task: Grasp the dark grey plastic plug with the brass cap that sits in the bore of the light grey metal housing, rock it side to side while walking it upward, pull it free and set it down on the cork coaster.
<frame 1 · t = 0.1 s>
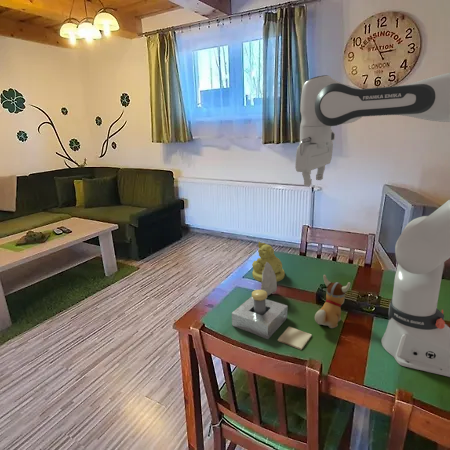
hand: (313, 182, 101), 48 cm above the table, fingers open, 8 cm apart
figurine: (268, 275, 148), on the table
toy: (328, 322, 112), on the table
plug: (259, 307, 113), in the housing
housing: (260, 321, 114), on the table
stone tool: (268, 296, 131), on the table
coaster: (294, 338, 105), on the table
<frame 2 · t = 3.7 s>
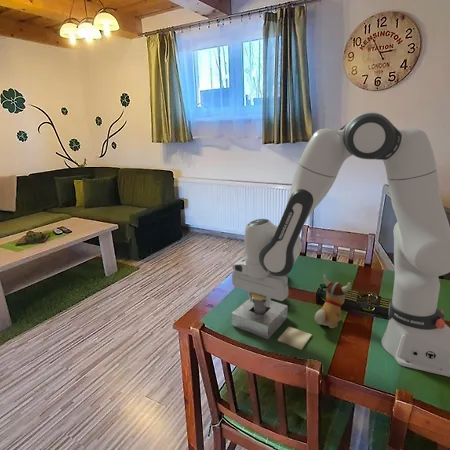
hand: (259, 303, 112), 7 cm above the table, fingers closed on plug, 4 cm apart
plug: (259, 307, 113), in the housing, touching gripper
everything else where it was.
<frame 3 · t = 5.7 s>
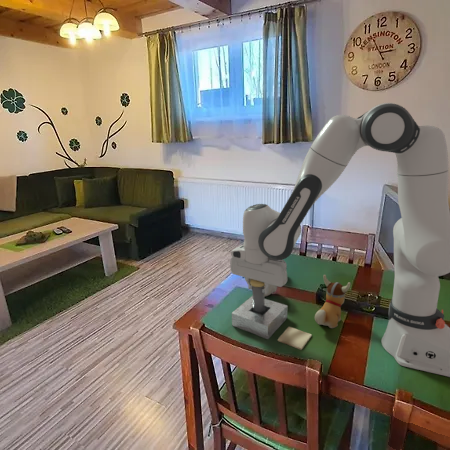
hand: (258, 290, 111), 12 cm above the table, fingers closed on plug, 4 cm apart
plug: (258, 294, 111), point 10 cm above the table, touching gripper
everything else where it was.
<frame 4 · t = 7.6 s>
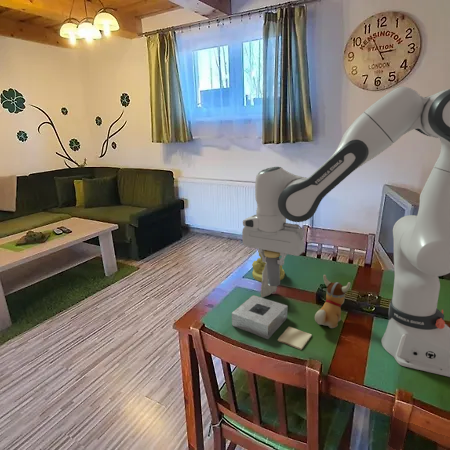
hand: (273, 263, 104), 24 cm above the table, fingers closed on plug, 4 cm apart
plug: (273, 267, 104), point 22 cm above the table, touching gripper
everything else where it was.
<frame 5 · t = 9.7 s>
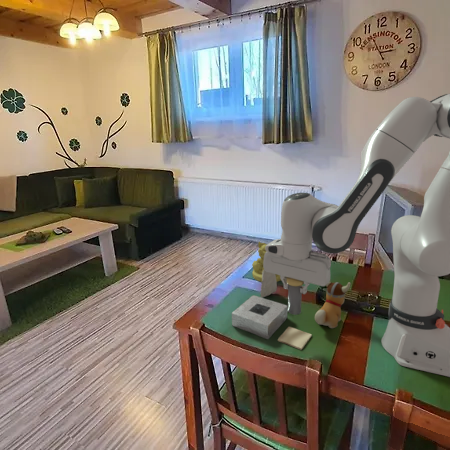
hand: (295, 290, 100), 17 cm above the table, fingers closed on plug, 4 cm apart
plug: (294, 295, 100), point 16 cm above the table, touching gripper
everything else where it was.
when the fingers open (9 cm above the table, at t = 11.6 s): plug stays where it is, resting on coaster.
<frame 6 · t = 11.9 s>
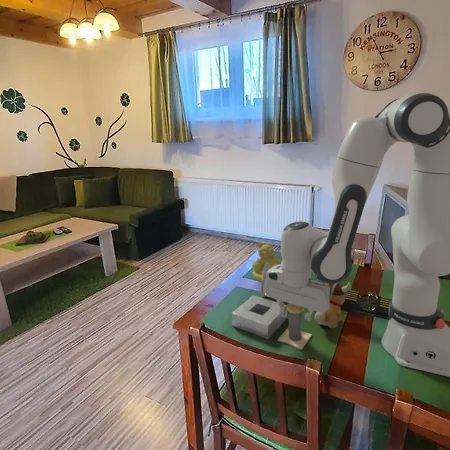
hand: (295, 315, 102), 9 cm above the table, fingers open, 7 cm apart
plug: (295, 321, 103), on the coaster, point 6 cm above the table
everything else where it was.
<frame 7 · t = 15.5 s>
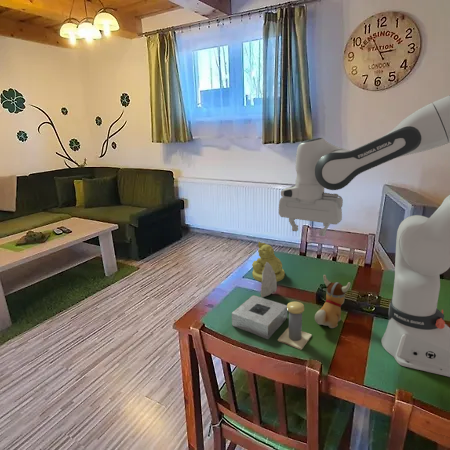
hand: (308, 233, 107), 31 cm above the table, fingers open, 8 cm apart
nothing on the table moved.
at the end: plug inside the target area on the coaster (0.1 cm from its centre), point 6.2 cm above the coaster's base; plug tilted 1°; the gripper is holding nothing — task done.
